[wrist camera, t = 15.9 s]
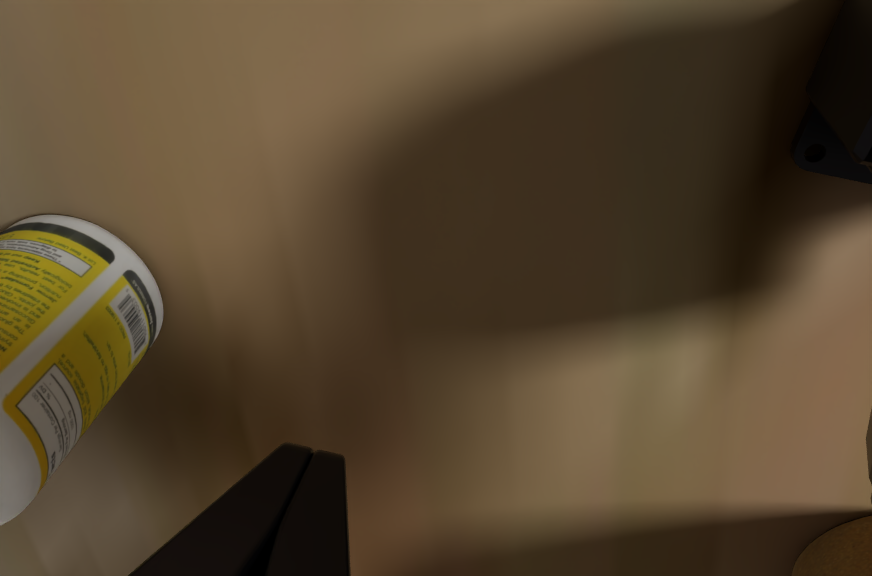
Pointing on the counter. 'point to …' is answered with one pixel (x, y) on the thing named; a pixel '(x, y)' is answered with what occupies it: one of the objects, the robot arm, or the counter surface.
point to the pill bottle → (63, 341)
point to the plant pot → (839, 552)
